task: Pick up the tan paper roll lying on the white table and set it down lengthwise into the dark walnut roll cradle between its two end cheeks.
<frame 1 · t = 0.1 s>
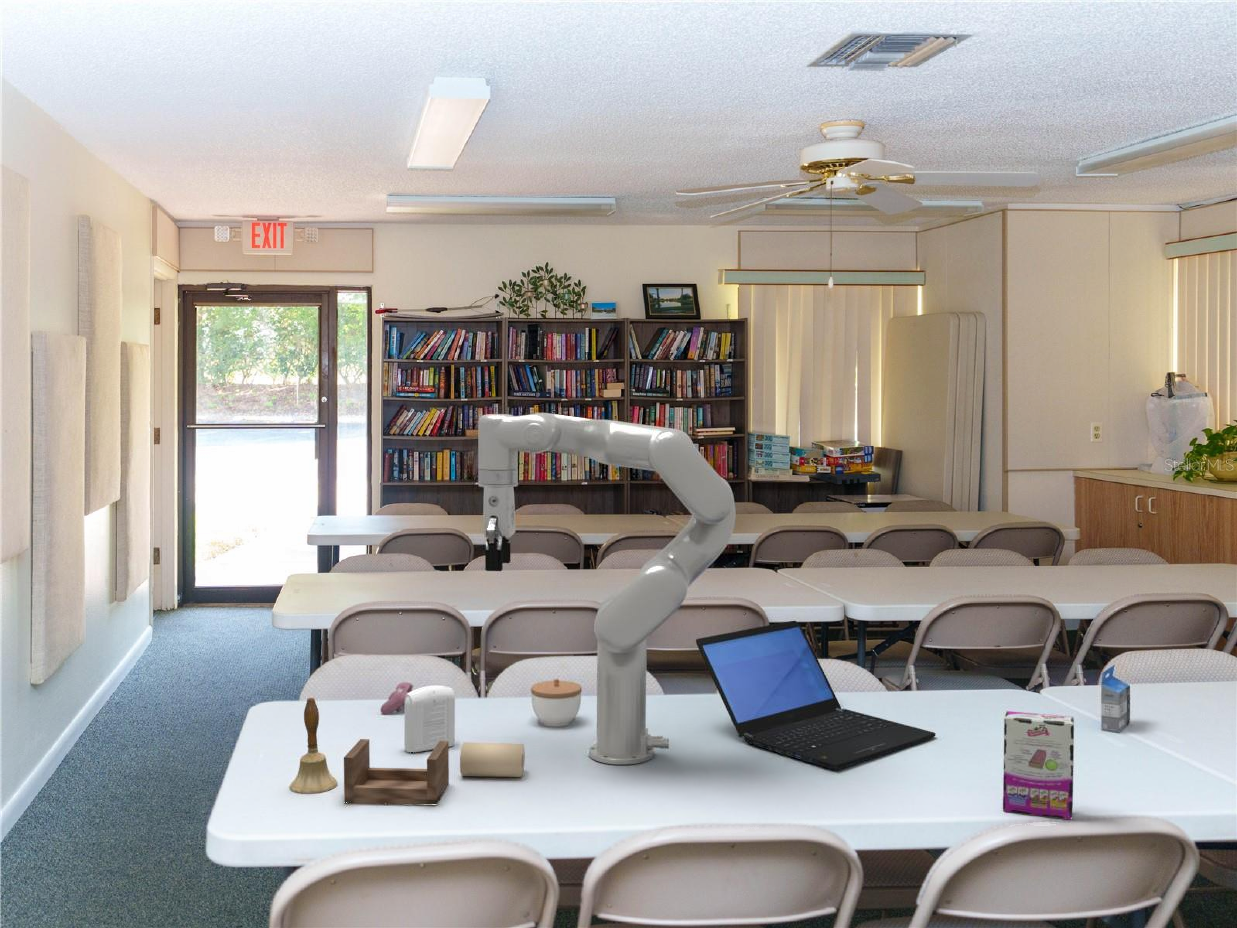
hand: (498, 566, 227), 37 cm above the table, tool pointing down, fingers open, 9 cm apart
hand bell: (313, 787, 210), on the table
paper roll: (492, 775, 217), on the table
lidded jar: (556, 723, 250), on the table
pink rounded lump: (397, 709, 260), on the table
roll cradle: (397, 793, 207), on the table
candy bar box: (1037, 812, 199), on the table
label tape box: (1114, 728, 248), on the table
photo printer: (430, 748, 232), on the table
laptop: (813, 736, 243), on the table
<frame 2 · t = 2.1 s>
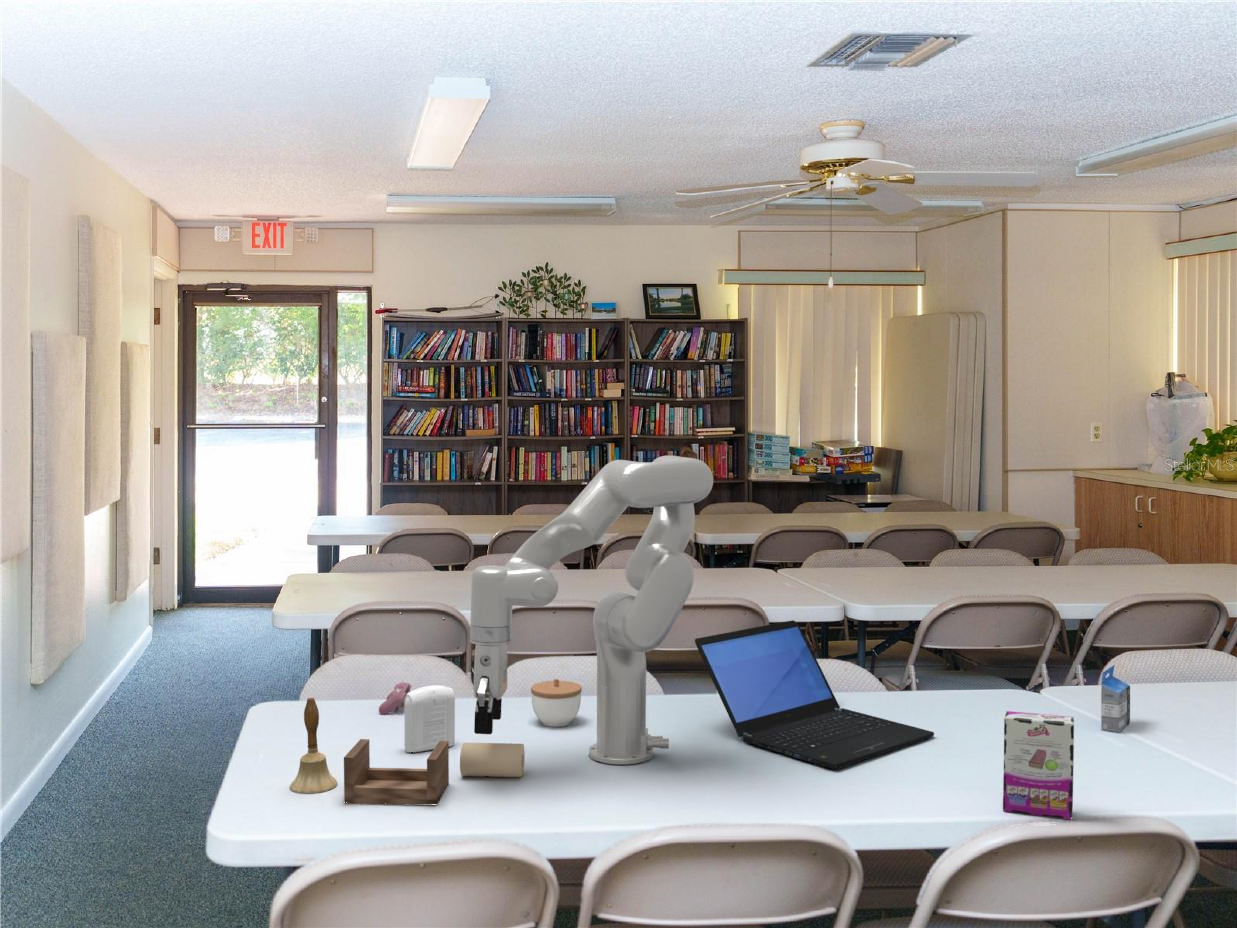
hand: (487, 726, 216), 9 cm above the table, tool pointing down, fingers open, 9 cm apart
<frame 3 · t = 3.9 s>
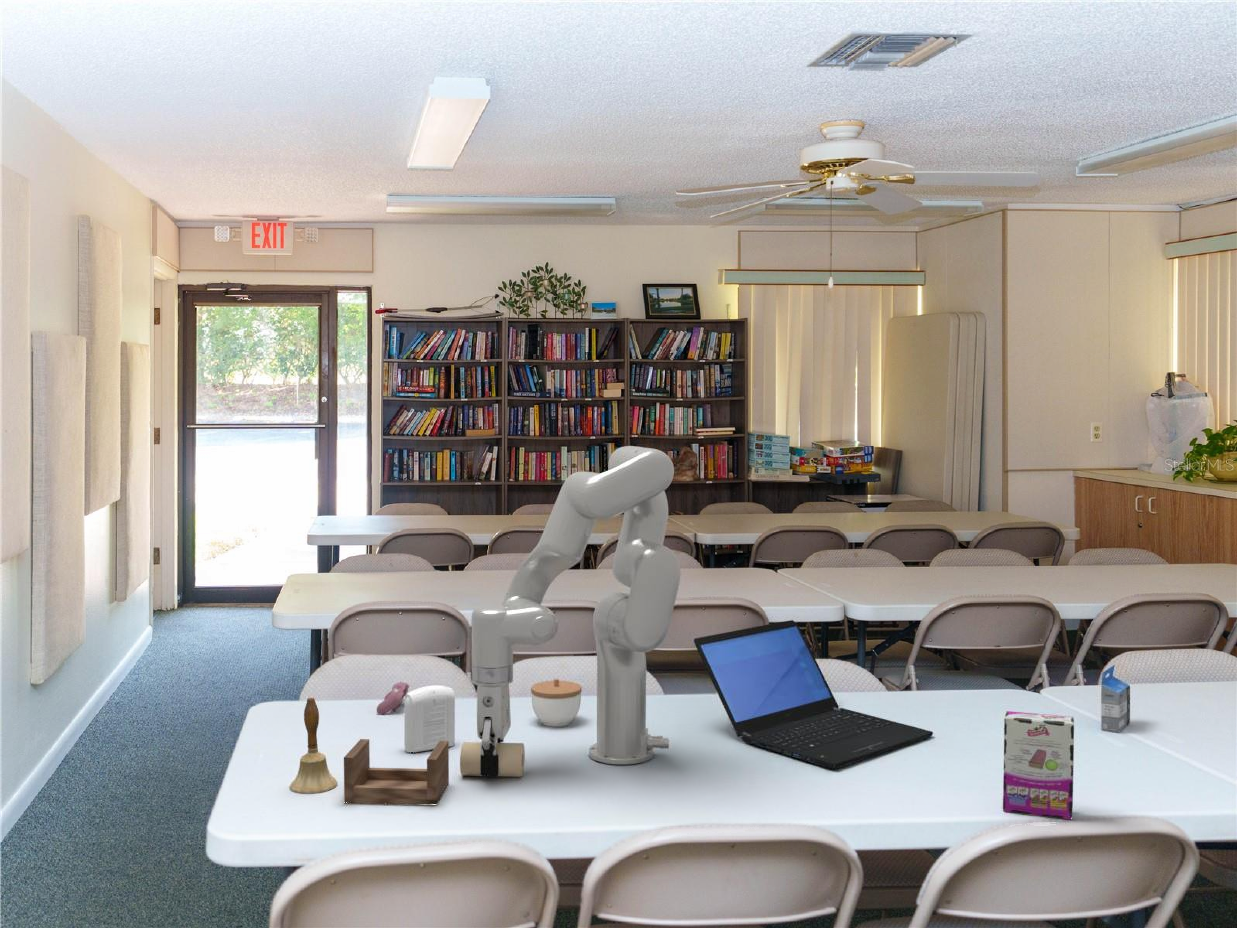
hand: (492, 768, 217), 1 cm above the table, tool pointing down, fingers closed on paper roll, 6 cm apart
paper roll: (492, 774, 217), on the table, touching gripper
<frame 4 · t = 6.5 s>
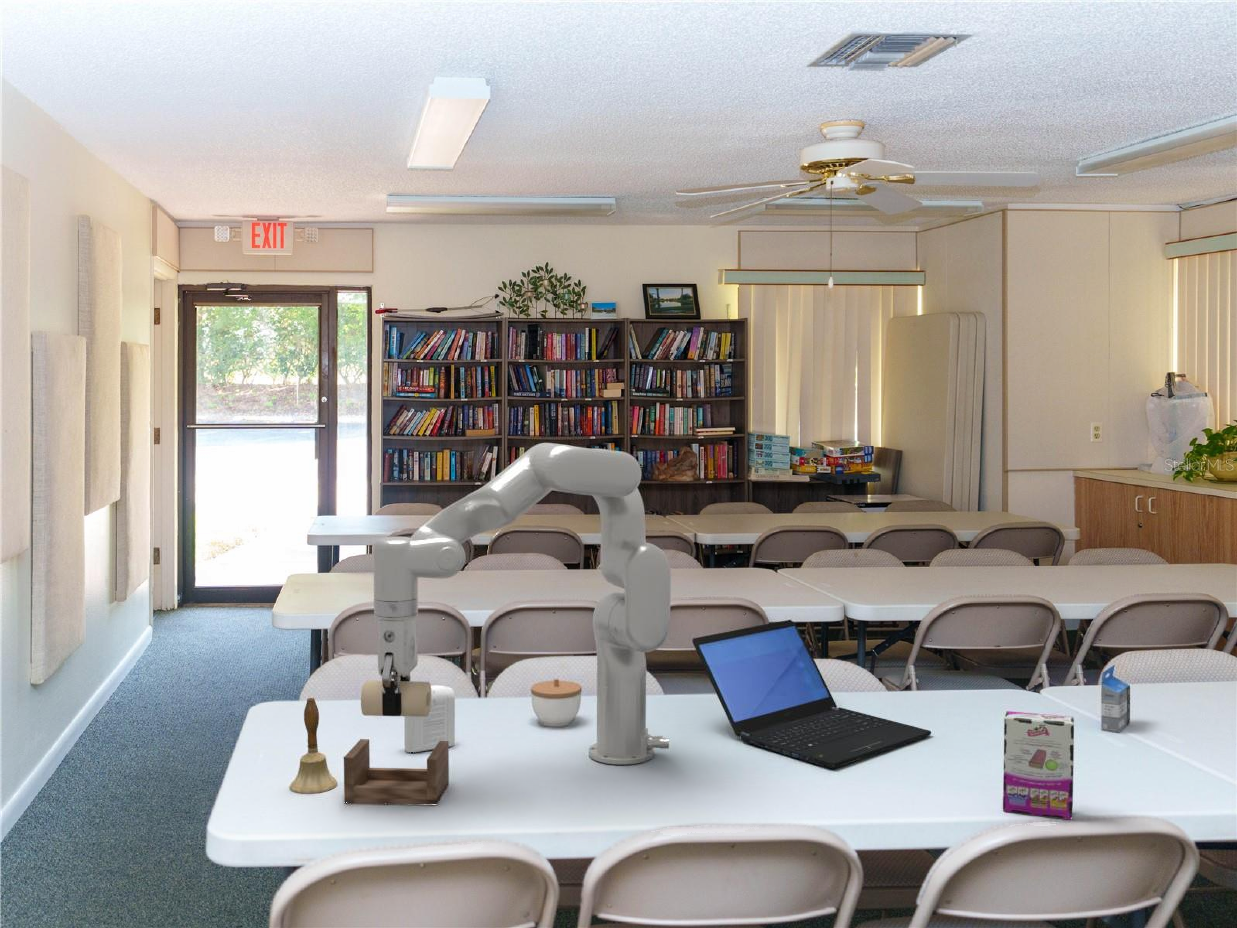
hand: (396, 709, 205), 15 cm above the table, tool pointing down, fingers closed on paper roll, 6 cm apart
paper roll: (396, 715, 206), point 14 cm above the table, touching gripper
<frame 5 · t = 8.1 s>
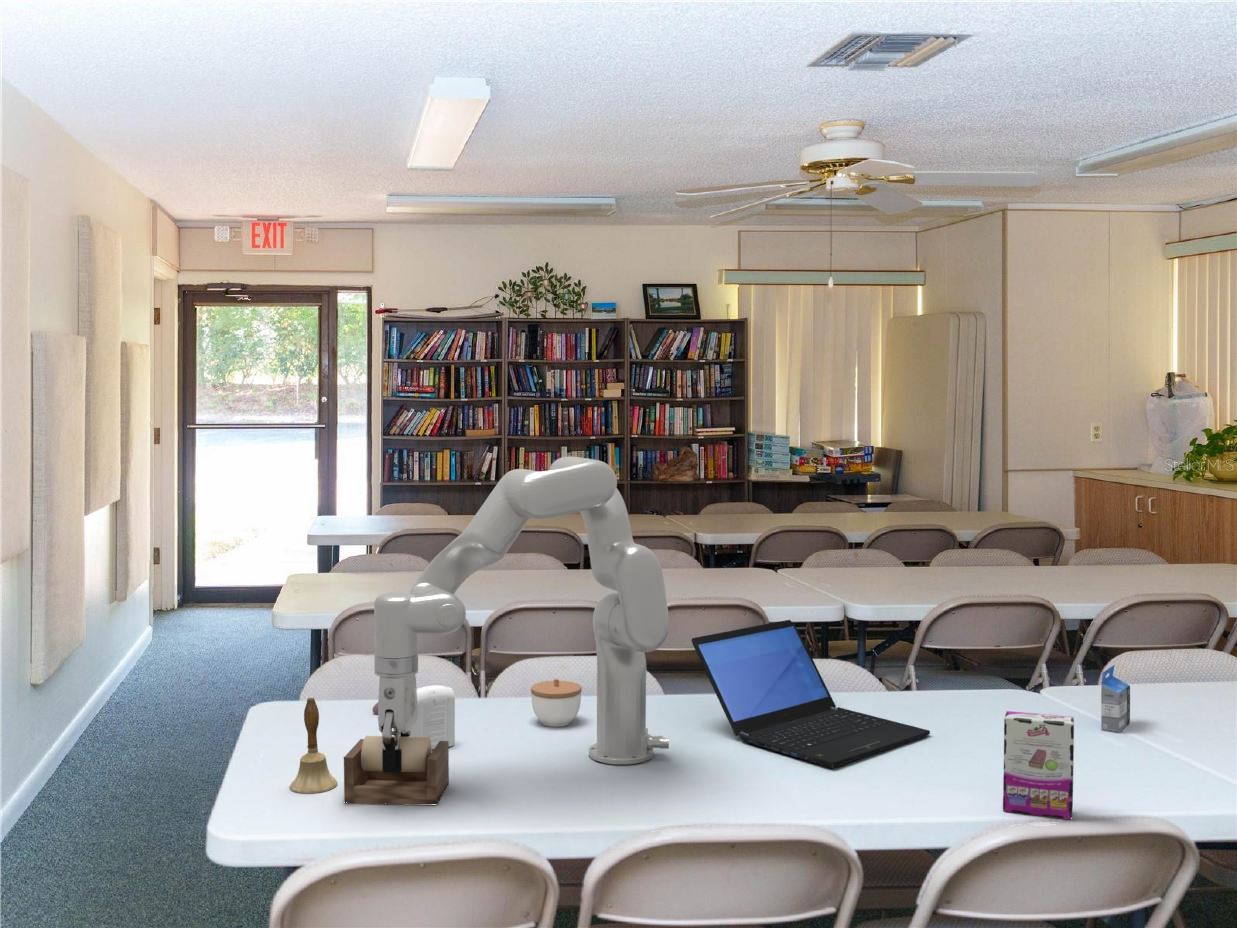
hand: (396, 764, 206), 5 cm above the table, tool pointing down, fingers closed on paper roll, 6 cm apart
paper roll: (396, 770, 206), point 4 cm above the table, touching gripper
when the fingers open (4 cm above the table, at t = 9.3 s): paper roll drops 2 cm, resting on roll cradle.
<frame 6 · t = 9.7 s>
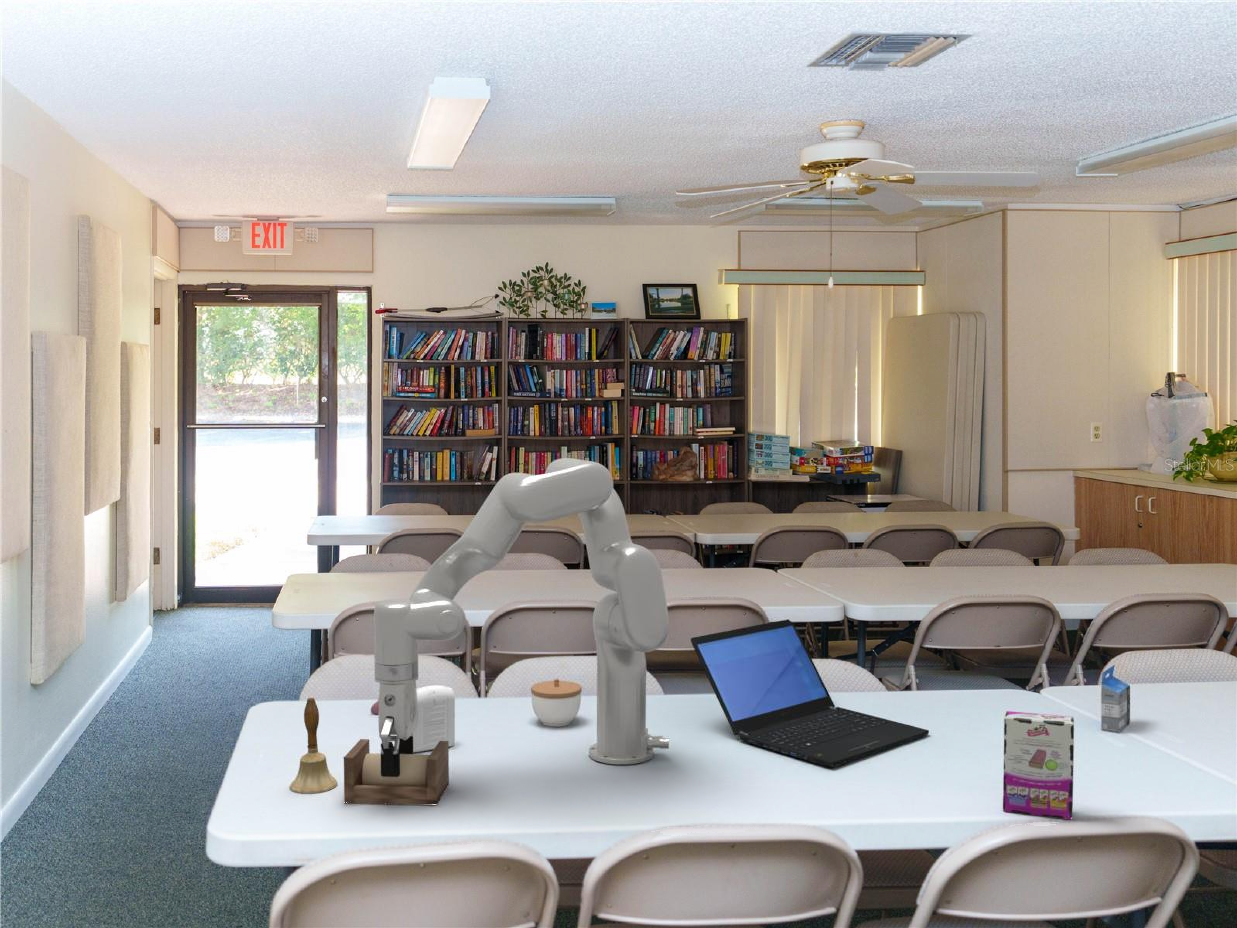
hand: (397, 766, 206), 5 cm above the table, tool pointing down, fingers open, 9 cm apart
paper roll: (398, 787, 207), point 1 cm above the table, touching roll cradle
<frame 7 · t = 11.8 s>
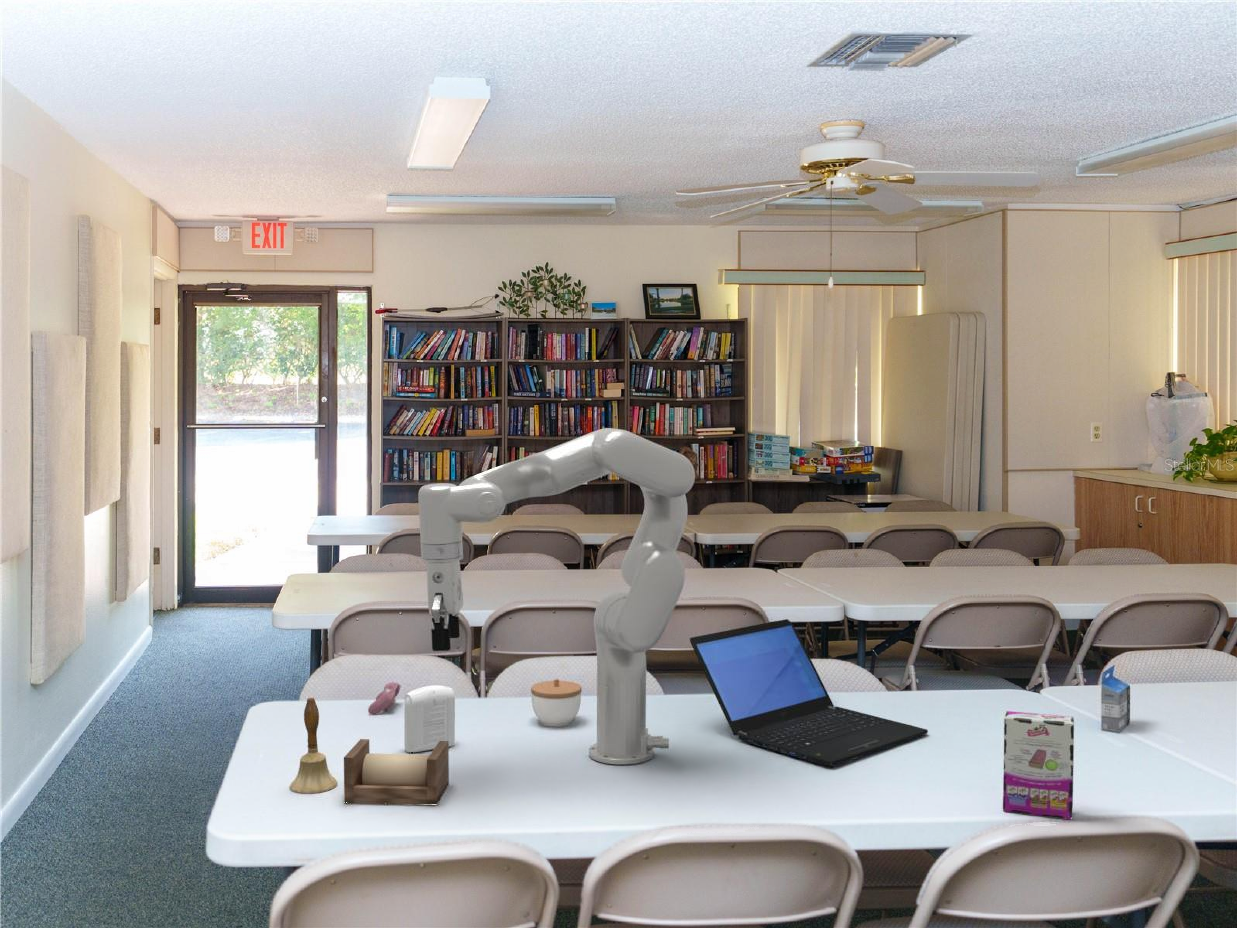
hand: (446, 643, 215), 24 cm above the table, tool pointing down, fingers open, 9 cm apart
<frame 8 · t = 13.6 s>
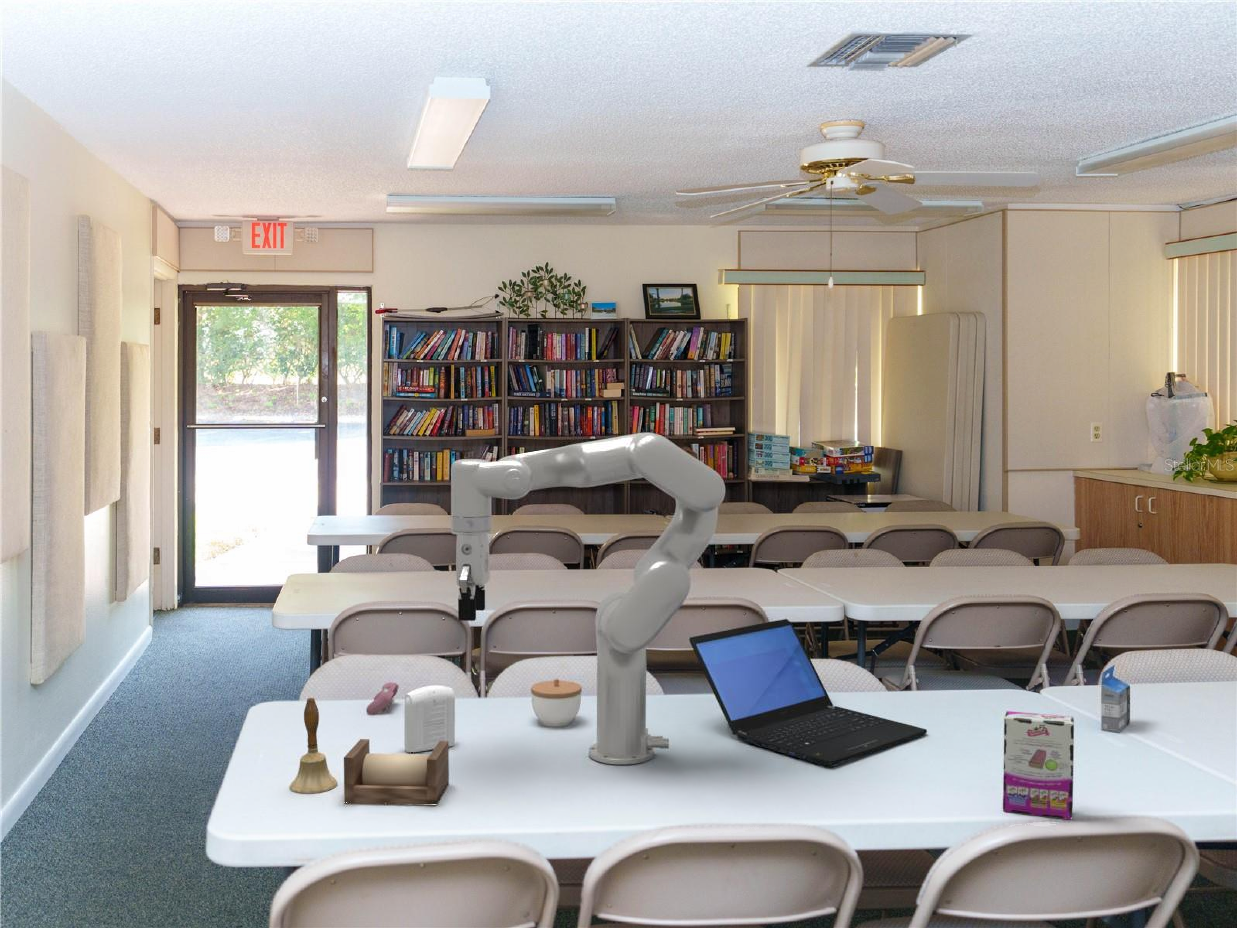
hand: (472, 615, 222), 28 cm above the table, tool pointing down, fingers open, 9 cm apart
at the end: paper roll 0.1 cm off-centre on the roll cradle, point 1.0 cm above the roll cradle's base; the gripper is holding nothing; paper roll touching roll cradle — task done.
